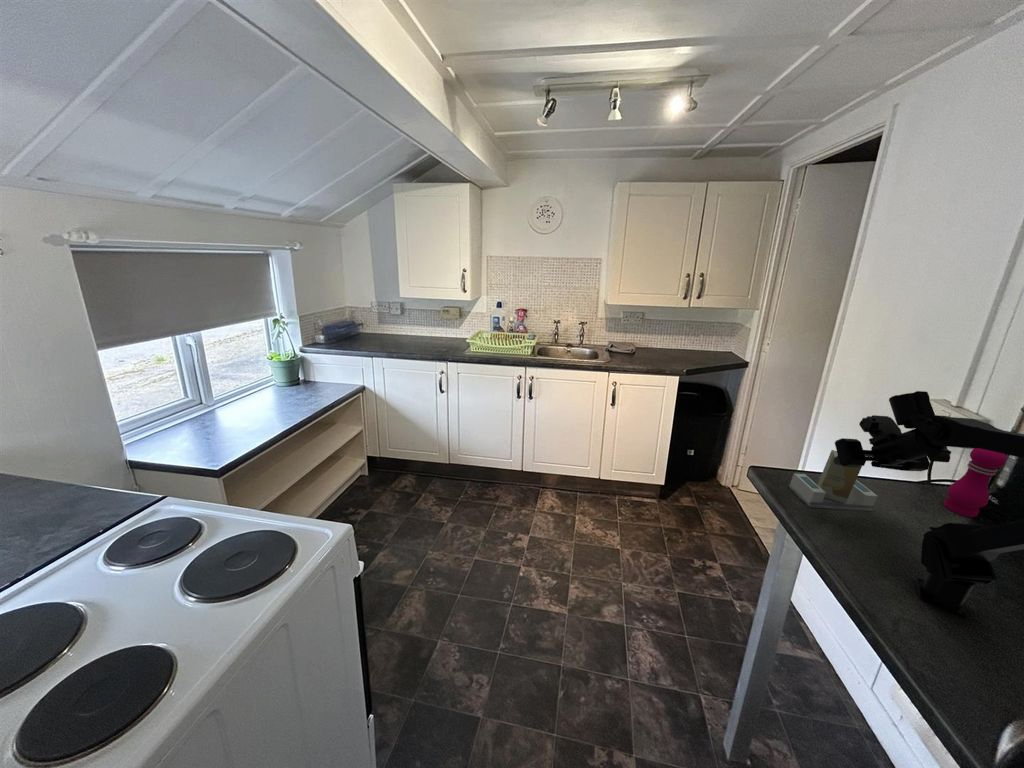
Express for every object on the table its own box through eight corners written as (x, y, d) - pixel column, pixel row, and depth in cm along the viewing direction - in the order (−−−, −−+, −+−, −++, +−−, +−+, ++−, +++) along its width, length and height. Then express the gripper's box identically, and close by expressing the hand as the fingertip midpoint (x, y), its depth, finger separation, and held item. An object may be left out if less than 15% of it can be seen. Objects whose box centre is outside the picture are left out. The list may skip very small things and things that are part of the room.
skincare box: (817, 496, 109) (832, 456, 104) (815, 488, 112) (830, 448, 108) (847, 504, 106) (864, 463, 101) (844, 496, 109) (860, 456, 105)
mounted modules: (848, 488, 113) (853, 476, 112) (872, 507, 105) (878, 495, 104) (789, 484, 113) (794, 472, 112) (809, 503, 105) (814, 491, 104)
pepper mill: (962, 502, 111) (997, 437, 104) (988, 520, 104) (1027, 451, 97) (933, 499, 111) (966, 434, 104) (957, 517, 105) (994, 448, 98)
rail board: (846, 490, 114) (848, 485, 113) (872, 511, 105) (874, 506, 105) (788, 486, 114) (789, 482, 113) (809, 507, 105) (811, 502, 105)
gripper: (939, 413, 91) (881, 434, 105) (855, 408, 92) (807, 429, 106) (959, 463, 87) (895, 478, 101) (869, 457, 87) (818, 473, 101)
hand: (853, 463), depth 102 cm, fingers open, 9 cm apart
